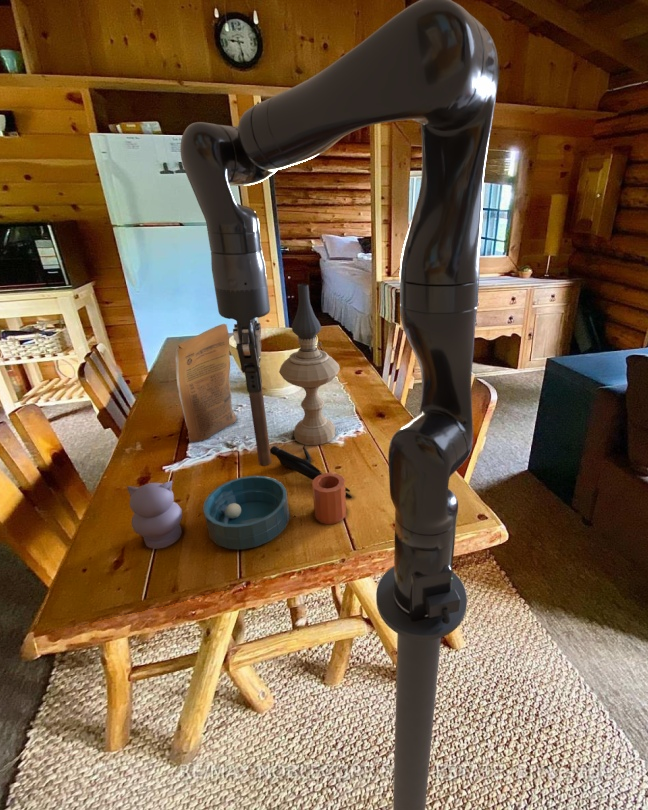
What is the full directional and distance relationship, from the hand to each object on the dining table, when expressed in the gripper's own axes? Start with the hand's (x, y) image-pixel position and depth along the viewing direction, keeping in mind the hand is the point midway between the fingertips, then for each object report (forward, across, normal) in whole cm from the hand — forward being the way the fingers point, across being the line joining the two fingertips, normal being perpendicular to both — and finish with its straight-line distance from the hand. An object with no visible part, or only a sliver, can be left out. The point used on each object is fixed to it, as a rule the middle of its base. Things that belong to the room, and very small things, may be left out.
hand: (255, 387), depth 73 cm
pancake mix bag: (+31, +43, +15) cm, 55 cm away
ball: (+28, +4, +8) cm, 30 cm away
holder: (+30, +1, -11) cm, 32 cm away
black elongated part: (+31, +17, -11) cm, 37 cm away
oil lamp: (+31, +34, -11) cm, 47 cm away
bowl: (+30, +2, +5) cm, 31 cm away
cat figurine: (+31, +2, +21) cm, 37 cm away
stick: (+15, 0, 0) cm, 15 cm away
